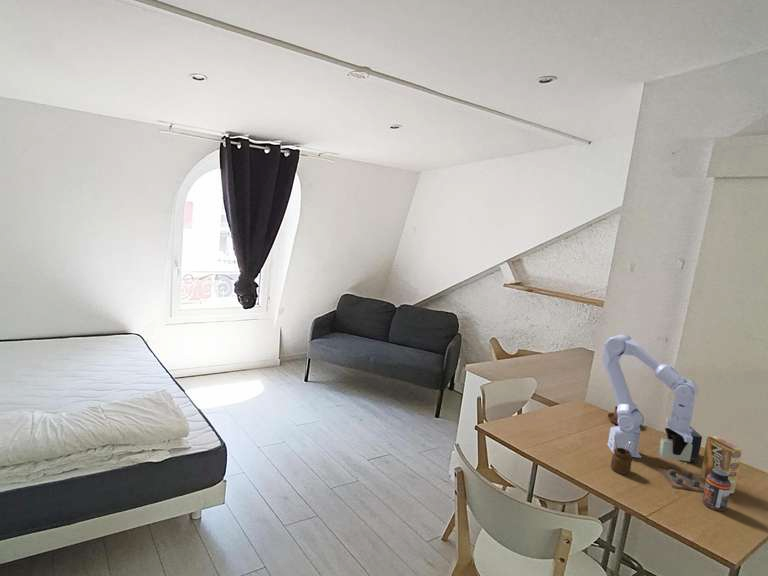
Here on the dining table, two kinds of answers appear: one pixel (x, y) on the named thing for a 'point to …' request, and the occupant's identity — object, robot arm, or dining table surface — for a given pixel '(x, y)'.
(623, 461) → the utensil holder
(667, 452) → the door
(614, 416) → the cup and saucer
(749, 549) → the dining table surface
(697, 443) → the small box
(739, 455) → the candy box
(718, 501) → the supplement bottle
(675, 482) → the side panel
